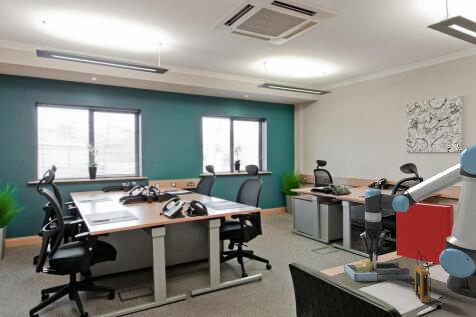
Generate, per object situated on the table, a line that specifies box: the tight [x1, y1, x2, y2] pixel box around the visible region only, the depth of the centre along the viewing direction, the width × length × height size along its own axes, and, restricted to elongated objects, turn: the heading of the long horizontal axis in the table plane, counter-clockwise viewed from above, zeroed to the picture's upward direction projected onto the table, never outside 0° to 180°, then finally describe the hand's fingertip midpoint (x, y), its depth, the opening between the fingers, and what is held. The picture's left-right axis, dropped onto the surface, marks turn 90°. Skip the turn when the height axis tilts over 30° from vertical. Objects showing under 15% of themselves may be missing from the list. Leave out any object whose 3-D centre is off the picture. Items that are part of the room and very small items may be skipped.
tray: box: [343, 263, 378, 282], centre depth 153 cm, size 13×11×4 cm
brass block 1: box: [354, 263, 366, 273], centre depth 153 cm, size 4×4×4 cm
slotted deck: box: [369, 261, 411, 281], centre depth 154 cm, size 12×16×4 cm
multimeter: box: [412, 250, 447, 309], centre depth 127 cm, size 15×10×20 cm
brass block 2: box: [361, 259, 374, 272], centre depth 153 cm, size 4×4×4 cm
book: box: [395, 201, 455, 266], centre depth 176 cm, size 27×8×32 cm, turn 42°
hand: (373, 267), depth 153 cm, fingers closed
